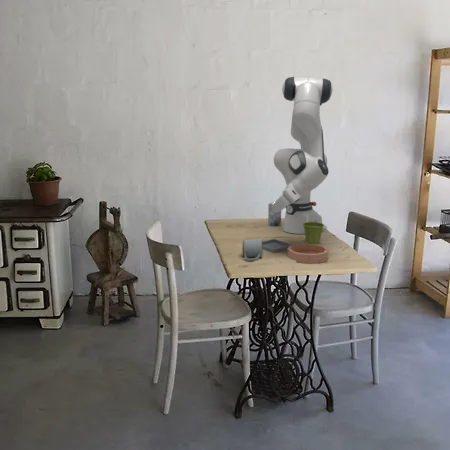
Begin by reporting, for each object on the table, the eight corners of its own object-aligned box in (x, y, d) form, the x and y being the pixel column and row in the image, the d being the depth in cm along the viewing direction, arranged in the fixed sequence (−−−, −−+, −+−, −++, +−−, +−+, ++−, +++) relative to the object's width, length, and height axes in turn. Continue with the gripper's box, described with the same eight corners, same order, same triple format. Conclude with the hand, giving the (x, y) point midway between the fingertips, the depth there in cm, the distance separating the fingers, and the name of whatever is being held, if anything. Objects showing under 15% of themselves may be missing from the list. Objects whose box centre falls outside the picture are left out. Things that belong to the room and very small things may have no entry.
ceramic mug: (243, 254, 238) (243, 236, 236) (262, 254, 237) (263, 236, 235) (241, 262, 228) (241, 243, 226) (262, 262, 227) (262, 244, 225)
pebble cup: (274, 222, 248) (275, 200, 245) (283, 225, 244) (284, 202, 241) (265, 224, 245) (265, 202, 242) (274, 227, 241) (274, 204, 238)
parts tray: (274, 242, 255) (274, 238, 254) (293, 248, 246) (293, 244, 245) (253, 247, 247) (254, 243, 247) (273, 254, 238) (273, 249, 238)
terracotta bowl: (306, 249, 245) (307, 241, 244) (335, 258, 233) (336, 250, 232) (279, 256, 235) (280, 248, 234) (308, 265, 223) (308, 257, 222)
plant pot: (323, 241, 258) (324, 222, 256) (322, 246, 249) (323, 227, 247) (302, 239, 260) (303, 221, 257) (301, 245, 251) (301, 226, 249)
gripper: (298, 181, 246) (276, 201, 253) (283, 190, 228) (260, 212, 234) (307, 192, 246) (285, 212, 252) (294, 202, 228) (270, 223, 234)
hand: (273, 212), depth 243 cm, fingers closed on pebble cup, 5 cm apart
